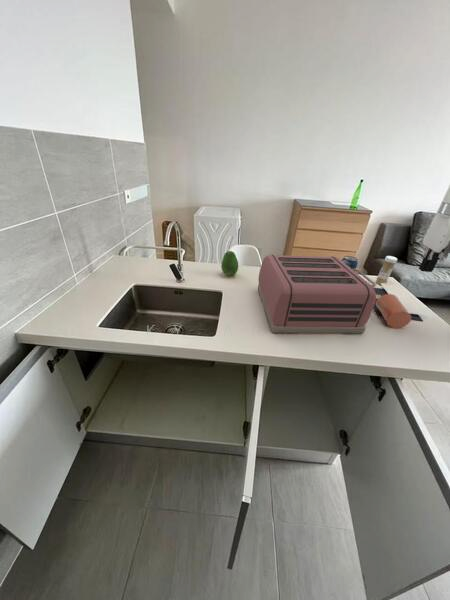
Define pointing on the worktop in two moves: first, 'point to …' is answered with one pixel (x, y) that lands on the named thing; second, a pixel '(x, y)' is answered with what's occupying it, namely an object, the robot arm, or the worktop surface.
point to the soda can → (350, 261)
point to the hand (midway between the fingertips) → (425, 270)
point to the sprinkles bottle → (386, 269)
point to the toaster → (314, 295)
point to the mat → (383, 292)
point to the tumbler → (393, 311)
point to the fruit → (229, 263)
